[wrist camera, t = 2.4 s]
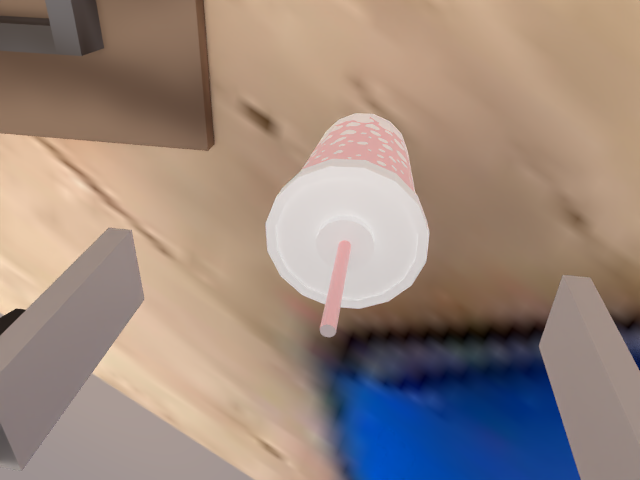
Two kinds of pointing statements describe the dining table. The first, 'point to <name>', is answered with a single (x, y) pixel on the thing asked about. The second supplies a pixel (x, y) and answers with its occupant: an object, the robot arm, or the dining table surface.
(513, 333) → the dining table surface
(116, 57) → the cup holder
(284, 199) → the beverage cup
